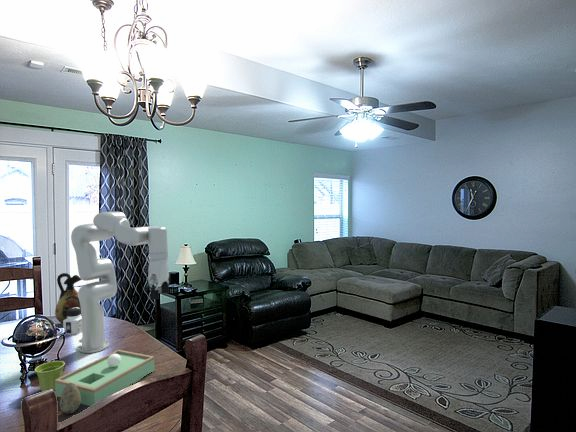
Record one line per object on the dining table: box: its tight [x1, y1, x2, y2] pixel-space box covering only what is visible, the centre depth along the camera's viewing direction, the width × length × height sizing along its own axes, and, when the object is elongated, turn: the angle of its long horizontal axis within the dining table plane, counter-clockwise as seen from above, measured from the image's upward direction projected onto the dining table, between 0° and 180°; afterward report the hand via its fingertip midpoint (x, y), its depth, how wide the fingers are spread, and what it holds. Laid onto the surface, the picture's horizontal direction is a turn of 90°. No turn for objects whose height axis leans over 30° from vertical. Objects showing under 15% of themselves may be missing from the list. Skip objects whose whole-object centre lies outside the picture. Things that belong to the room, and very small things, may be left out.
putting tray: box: [54, 349, 156, 407], centre depth 138 cm, size 20×28×6 cm
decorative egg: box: [59, 383, 81, 415], centre depth 119 cm, size 6×6×10 cm
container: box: [62, 307, 82, 335], centre depth 195 cm, size 8×8×13 cm
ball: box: [107, 354, 121, 367], centre depth 141 cm, size 5×5×5 cm
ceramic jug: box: [54, 272, 83, 327], centre depth 208 cm, size 17×15×30 cm
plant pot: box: [34, 360, 66, 392], centre depth 135 cm, size 9×9×9 cm
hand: (160, 296), depth 152 cm, fingers open, 9 cm apart
